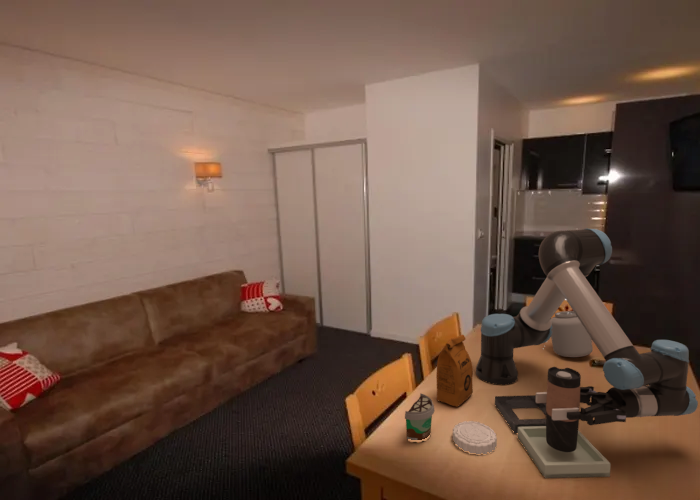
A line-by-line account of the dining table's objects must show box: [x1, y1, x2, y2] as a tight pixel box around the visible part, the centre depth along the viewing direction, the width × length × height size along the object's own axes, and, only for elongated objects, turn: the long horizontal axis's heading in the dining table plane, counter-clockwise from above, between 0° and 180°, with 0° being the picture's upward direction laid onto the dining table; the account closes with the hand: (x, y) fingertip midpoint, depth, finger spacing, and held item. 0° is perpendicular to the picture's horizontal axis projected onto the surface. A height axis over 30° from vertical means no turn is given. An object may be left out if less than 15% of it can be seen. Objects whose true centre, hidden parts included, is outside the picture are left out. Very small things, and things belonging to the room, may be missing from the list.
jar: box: [542, 299, 594, 358], centre depth 165 cm, size 19×15×25 cm
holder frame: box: [494, 394, 546, 434], centre depth 121 cm, size 16×16×3 cm
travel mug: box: [545, 366, 582, 452], centre depth 102 cm, size 8×8×20 cm
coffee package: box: [435, 334, 474, 407], centre depth 133 cm, size 10×12×22 cm
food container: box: [404, 393, 436, 440], centre depth 113 cm, size 12×6×10 cm, turn 148°
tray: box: [517, 426, 612, 479], centre depth 103 cm, size 16×16×4 cm
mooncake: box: [452, 420, 498, 455], centre depth 110 cm, size 12×12×4 cm
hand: (544, 405), depth 101 cm, fingers closed on travel mug, 7 cm apart
